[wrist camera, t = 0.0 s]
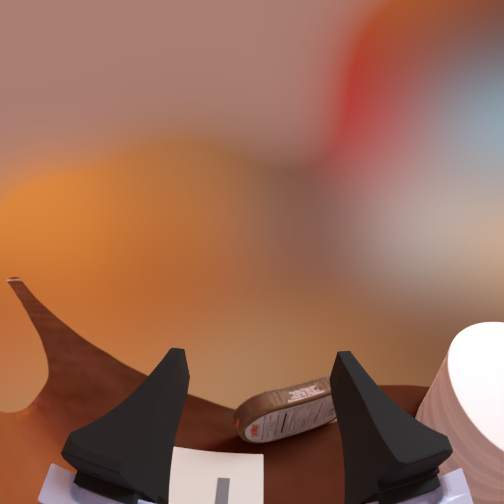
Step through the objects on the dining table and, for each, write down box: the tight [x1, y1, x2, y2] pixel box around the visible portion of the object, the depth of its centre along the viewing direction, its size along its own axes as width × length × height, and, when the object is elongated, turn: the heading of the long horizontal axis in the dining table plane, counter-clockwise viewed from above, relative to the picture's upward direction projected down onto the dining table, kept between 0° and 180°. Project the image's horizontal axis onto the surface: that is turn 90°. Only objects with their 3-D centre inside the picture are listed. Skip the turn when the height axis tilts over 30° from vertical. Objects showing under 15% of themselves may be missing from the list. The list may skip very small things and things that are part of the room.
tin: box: [233, 374, 337, 443], centre depth 28 cm, size 15×3×8 cm, turn 107°
